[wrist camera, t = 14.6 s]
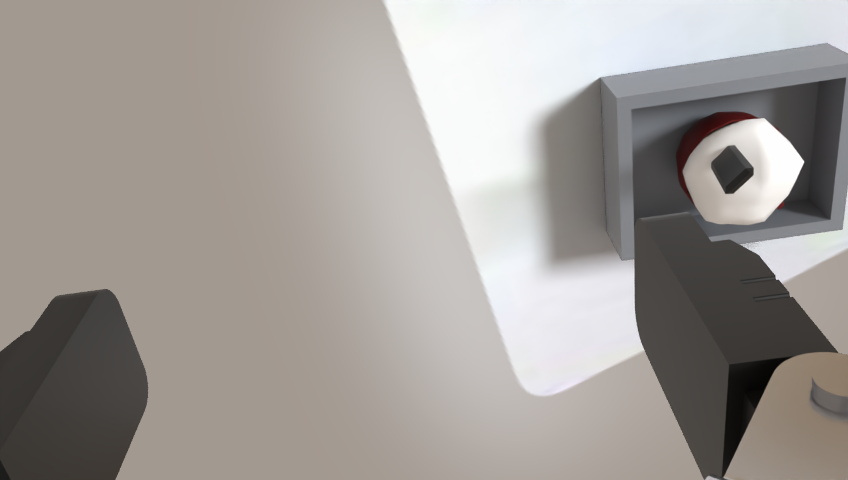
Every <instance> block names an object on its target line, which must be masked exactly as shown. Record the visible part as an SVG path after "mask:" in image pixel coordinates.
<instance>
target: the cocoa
mask: <svg viewBox="0 0 848 480" xmlns="http://www.w3.org/2000/svg"><path fill="white" fill-rule="evenodd" d="M676 161H677V171H678V179H679V183H680V186H681V188H682V189H683V191H684V192H685V193H686V195H687V196H688V198H689V199H690V200H691V202H692V203H693V204H694V206H695V207H696V208H697V209H698V211H699V212H700V214H701V215H702V216H703V218H704V219H705V221H708V222H712V223H716V224H737V225H751V224H755V223H760V222H764V221H765V220H766V219H767V218H768V217H769V216H770V215H771V213H772V212H773V211H774V210H775V209H776V208H777V209H781V208H782V207H783V206H784V205H785V204H784V203H783V202H782V201H783V200H784V199H785V198H786V197H787V196H788V195H789V193H790V191H791V189H792V187H793V185H794V183H795V181H796V179H797V177H798V175H799V172H800V170H801V168H802V166H803V163H804V161H803V159H802V158H801V157H800V155H799V154H798V152H797V151H796V150H795V148H794V147H793V146H792V144H791V143H790V142H789V141H788V140H787V139H786V138H785V137H784V136H783V135H782V134H781V133H780V131H779V130H778V128H776V127H775V126H773V125H772V124H770V123H769V122H768V121H767V120H766V119H765V118H758V117H756V116H754V115H751V114H749V113H745V112H739V111H732V112H716V113H714V114H711V115H709V116H707V117H705V118H703V119H701V120H698V121H697V122H696V123H695V124H694V125H693V126H692V127H691V128H690V129H689V130H688V131H687V132H686V134H685V135H684V136H683V137H682V140H681V143H680V145H679V148H678V150H677V153H676Z"/></svg>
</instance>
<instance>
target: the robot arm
mask: <svg viewBox="0 0 848 480" xmlns="http://www.w3.org/2000/svg"><path fill="white" fill-rule="evenodd" d="M634 262H635V314H636V322H637V327H638V332H639V336H640V339H641V343H642V345H643V348H644V350H645V352H646V354H647V356H648V359H649V361H650V363H651V365H652V367H653V369H654V371H655V374H656V376H657V378H658V380H659V383H660V385H661V387H662V389H663V391H664V393H665V395H666V398H667V400H668V402H669V404H670V406H671V409H672V411H673V413H674V415H675V417H676V419H677V421H678V424H679V426H680V428H681V430H682V432H683V435H684V437H685V439H686V441H687V443H688V445H689V448H690V450H691V452H692V454H693V456H694V458H695V461H696V463H697V465H698V467H699V469H700V472H701V474H702V476H703V478H704V480H848V355H847V354H842V353H838V352H837V350H836V349H835V348H834V347H833V346H832V345H831V343H830V342H829V341H828V339H827V338H826V337H825V336H824V335H823V333H822V332H821V331H820V330H819V329H818V327H817V326H816V325H815V324H814V322H813V321H812V320H811V319H810V318H809V317H808V315H807V314H806V313H805V311H804V310H803V309H802V308H801V306H800V305H799V304H798V303H797V302H796V300H795V299H794V298H793V297H790V296H789V292H788V291H787V289H786V288H785V287H784V286H783V284H782V283H781V282H780V281H779V280H776V278H775V275H774V273H773V272H772V271H771V270H770V268H769V267H768V266H767V265H766V264H765V262H764V261H763V260H762V259H761V257H760V256H759V255H757V254H756V253H754V252H752V251H750V250H748V249H747V248H745V247H743V246H741V245H739V244H737V243H736V242H734V241H732V240H730V239H728V240H721V241H713V242H711V240H710V239H709V238H708V236H707V235H706V234H705V232H704V231H703V229H702V228H701V227H700V225H699V224H698V223H697V221H696V220H695V219H694V217H693V216H692V215H691V214H690V213H689V212H683V213H675V214H668V215H660V216H653V217H645V218H639V219H637V221H636V223H635V230H634ZM147 398H148V382H147V376H146V372H145V368H144V365H143V363H142V360H141V358H140V355H139V353H138V351H137V348H136V345H135V343H134V340H133V338H132V335H131V332H130V330H129V327H128V325H127V322H126V319H125V317H124V315H123V312H122V309H121V307H120V304H119V302H118V300H117V298H116V296H115V295H114V294H113V293H112V292H111V291H110V290H108V289H103V290H95V291H88V292H80V293H74V294H65V295H59V296H56V297H55V298H54V299H53V300H52V301H51V302H50V304H49V305H48V307H47V308H46V309H45V311H44V312H43V314H42V315H41V317H40V318H39V319H38V321H37V322H36V323H35V325H34V326H33V328H32V329H31V330H30V331H27V332H25V333H23V334H22V335H21V336H20V337H18V338H17V339H16V340H15V341H13V342H12V343H11V344H10V345H8V346H7V347H6V348H4V349H3V350H2V351H1V352H0V480H115V479H116V477H117V475H118V472H119V470H120V468H121V465H122V463H123V460H124V458H125V455H126V453H127V451H128V449H129V446H130V444H131V441H132V439H133V436H134V435H135V432H136V430H137V427H138V425H139V423H140V420H141V418H142V416H143V413H144V411H145V408H146V404H147Z"/></svg>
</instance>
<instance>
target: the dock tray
mask: <svg viewBox="0 0 848 480" xmlns="http://www.w3.org/2000/svg"><path fill="white" fill-rule="evenodd" d="M600 81H601V106H602V130H603V155H604V180H605V204H606V229H607V233H608V235H609V237H610V239H611V241H612V243H613V245H614V247H615V248H616V250H617V252H618V254H619V256H620V258H621V260H622V261H623V260H630V259H634V230H635V223H636V221H637V219H639V218H645V217H653V216H660V215H668V214H675V213H683V212H689V213H690V214H691V215H692V216H693V217H694V219H695V220H696V221H697V223H698V224H699V225H700V227H701V228H702V229H703V231H704V232H705V234H706V235H707V236H708V238H709V239H710V240H711V242H713V241H721V240H728V239H730V240H732V241H734V242H736V243H737V244H743V243H750V242H758V241H765V240H772V239H779V238H786V237H793V236H800V235H807V234H814V233H821V232H828V231H835V230H842V229H843V221H844V212H845V204H846V196H847V187H848V53H846V52H844V51H842V50H840V49H838V48H836V47H834V46H832V45H830V44H828V43H826V44H819V45H813V46H806V47H800V48H793V49H786V50H780V51H773V52H767V53H760V54H753V55H747V56H740V57H733V58H727V59H720V60H714V61H707V62H700V63H694V64H687V65H681V66H674V67H667V68H661V69H654V70H647V71H641V72H634V73H628V74H621V75H614V76H608V77H601V78H600ZM732 111H739V112H745V113H749V114H751V115H754V116H756V117H758V118H765V119H766V120H767V121H768V122H769V123H770V124H772V125H773V126H775V127H776V128H778V130H779V131H780V133H781V134H782V135H783V136H784V137H785V138H786V139H787V140H788V141H789V142H790V143H791V144H792V146H793V147H794V148H795V150H796V151H797V152H798V154H799V155H800V157H801V158H802V159H803V161H804V163H803V166H802V168H801V170H800V172H799V175H798V177H797V179H796V181H795V183H794V185H793V187H792V189H791V191H790V193H789V195H788V196H787V197H786V198H785V199H784V200H783V201H782V202H783V203H784V204H785V205H784V206H783V207H782V208H781V209H777V208H776V209H775V210H774V211H773V212H772V213H771V215H770V216H769V217H768V218H767V219H766V220H765V221H764V222H760V223H755V224H751V225H737V224H716V223H712V222H708V221H705V219H704V218H703V216H702V215H701V214H700V212H699V211H698V209H697V208H696V207H695V206H694V204H693V203H692V202H691V200H690V199H689V198H688V196H687V195H686V193H685V192H684V191H683V189H682V188H681V186H680V183H679V179H678V171H677V161H676V153H677V150H678V148H679V145H680V143H681V140H682V137H683V136H684V135H685V134H686V132H687V131H688V130H689V129H690V128H691V127H692V126H693V125H694V124H695V123H696V122H697V121H698V120H701V119H703V118H705V117H707V116H709V115H711V114H714V113H716V112H732Z"/></svg>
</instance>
